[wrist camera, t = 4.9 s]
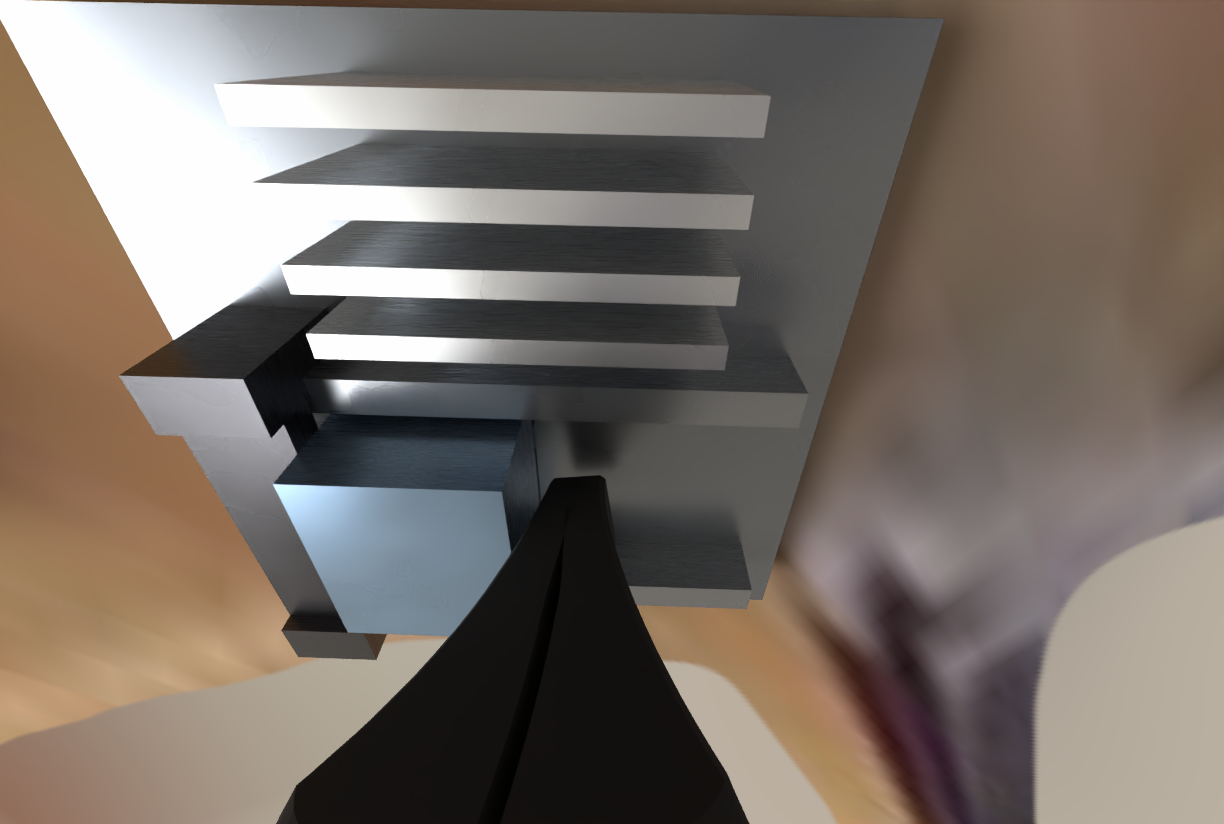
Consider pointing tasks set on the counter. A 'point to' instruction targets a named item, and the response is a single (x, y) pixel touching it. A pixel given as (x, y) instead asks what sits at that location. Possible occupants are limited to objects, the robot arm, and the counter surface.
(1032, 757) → the counter surface
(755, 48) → the heatsink base
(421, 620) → the blue-grey rectangular block
